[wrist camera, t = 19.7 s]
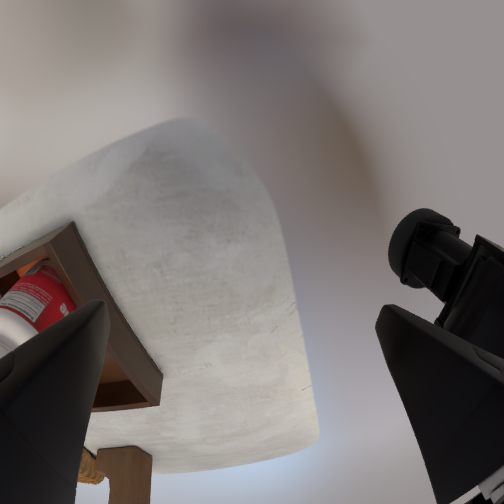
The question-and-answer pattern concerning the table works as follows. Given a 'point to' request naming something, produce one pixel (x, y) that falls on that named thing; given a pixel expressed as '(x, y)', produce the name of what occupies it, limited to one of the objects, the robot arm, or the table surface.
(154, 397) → the grid
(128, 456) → the wooden block
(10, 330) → the pill bottle
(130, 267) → the table surface
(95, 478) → the fossil
